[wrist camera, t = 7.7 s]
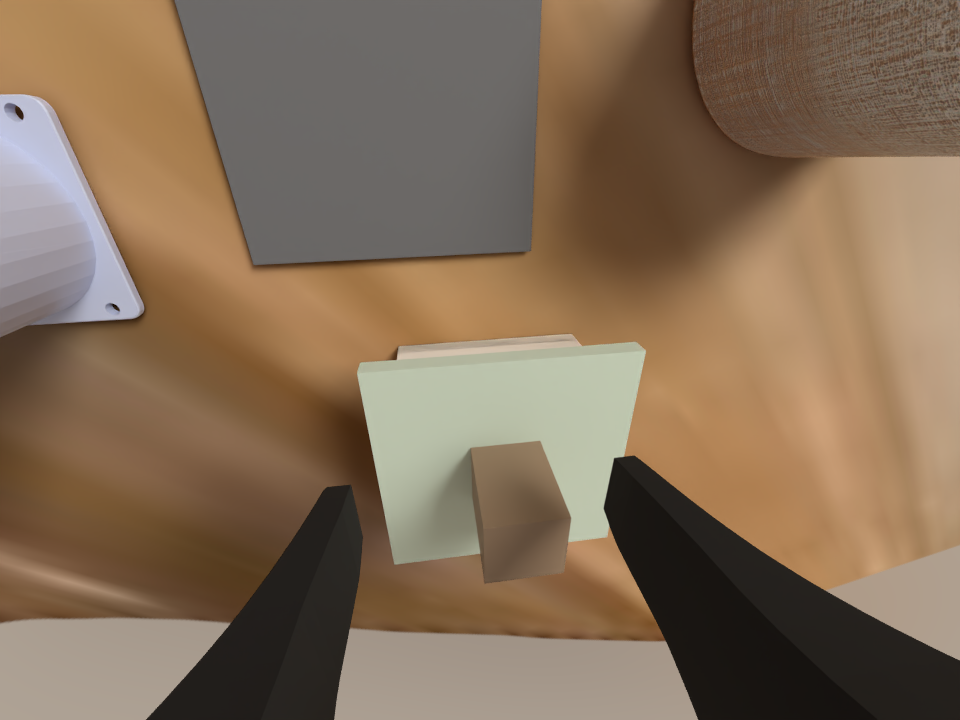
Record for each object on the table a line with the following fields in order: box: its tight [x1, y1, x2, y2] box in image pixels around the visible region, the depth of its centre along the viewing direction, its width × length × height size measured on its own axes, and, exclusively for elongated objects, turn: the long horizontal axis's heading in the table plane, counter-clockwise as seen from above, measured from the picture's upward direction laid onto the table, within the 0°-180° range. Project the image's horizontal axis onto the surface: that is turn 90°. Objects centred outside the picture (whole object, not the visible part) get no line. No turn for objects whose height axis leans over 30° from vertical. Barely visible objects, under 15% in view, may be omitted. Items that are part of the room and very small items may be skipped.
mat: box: [175, 0, 542, 265], centre depth 14 cm, size 12×12×1 cm
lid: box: [357, 342, 646, 583], centre depth 16 cm, size 11×11×5 cm
